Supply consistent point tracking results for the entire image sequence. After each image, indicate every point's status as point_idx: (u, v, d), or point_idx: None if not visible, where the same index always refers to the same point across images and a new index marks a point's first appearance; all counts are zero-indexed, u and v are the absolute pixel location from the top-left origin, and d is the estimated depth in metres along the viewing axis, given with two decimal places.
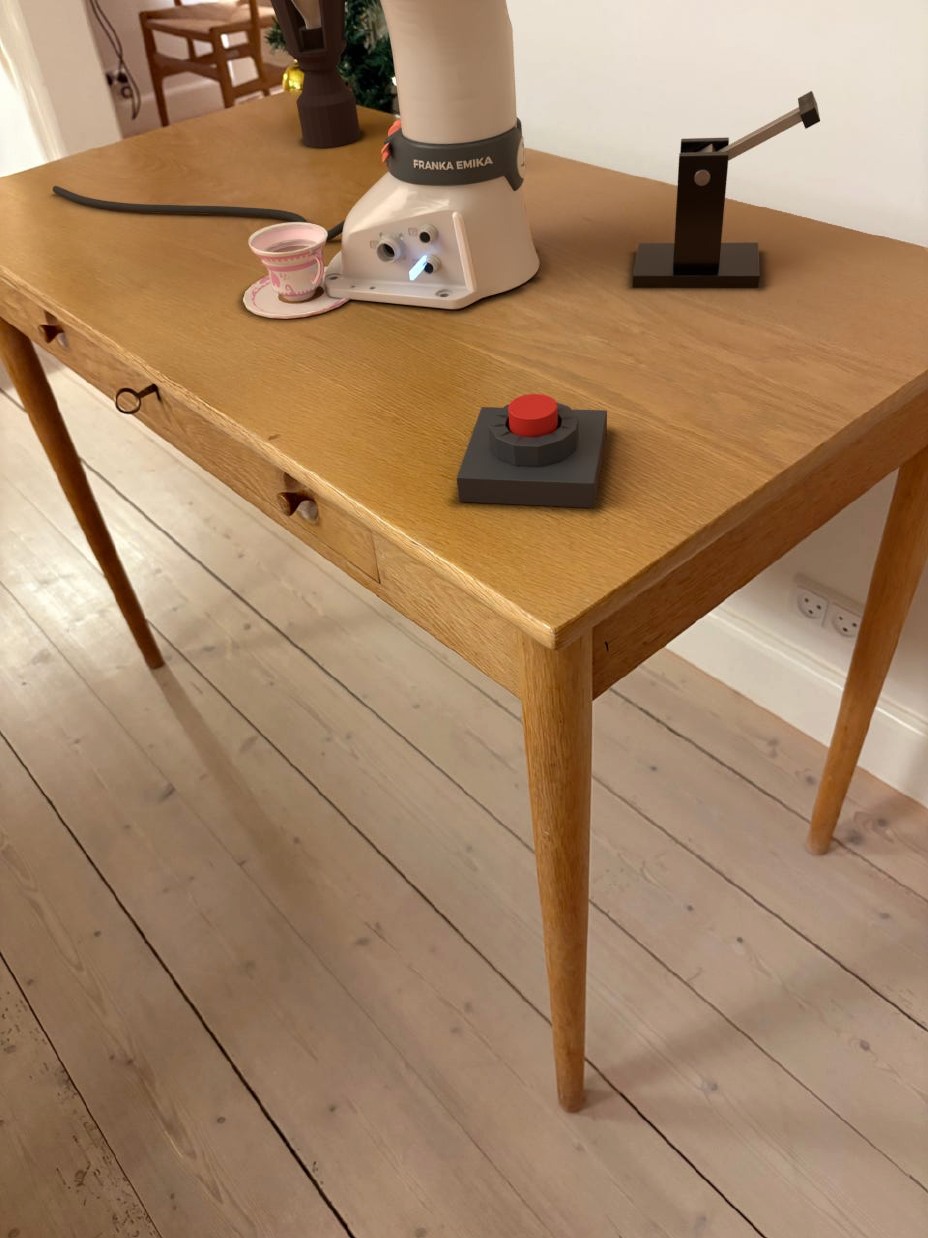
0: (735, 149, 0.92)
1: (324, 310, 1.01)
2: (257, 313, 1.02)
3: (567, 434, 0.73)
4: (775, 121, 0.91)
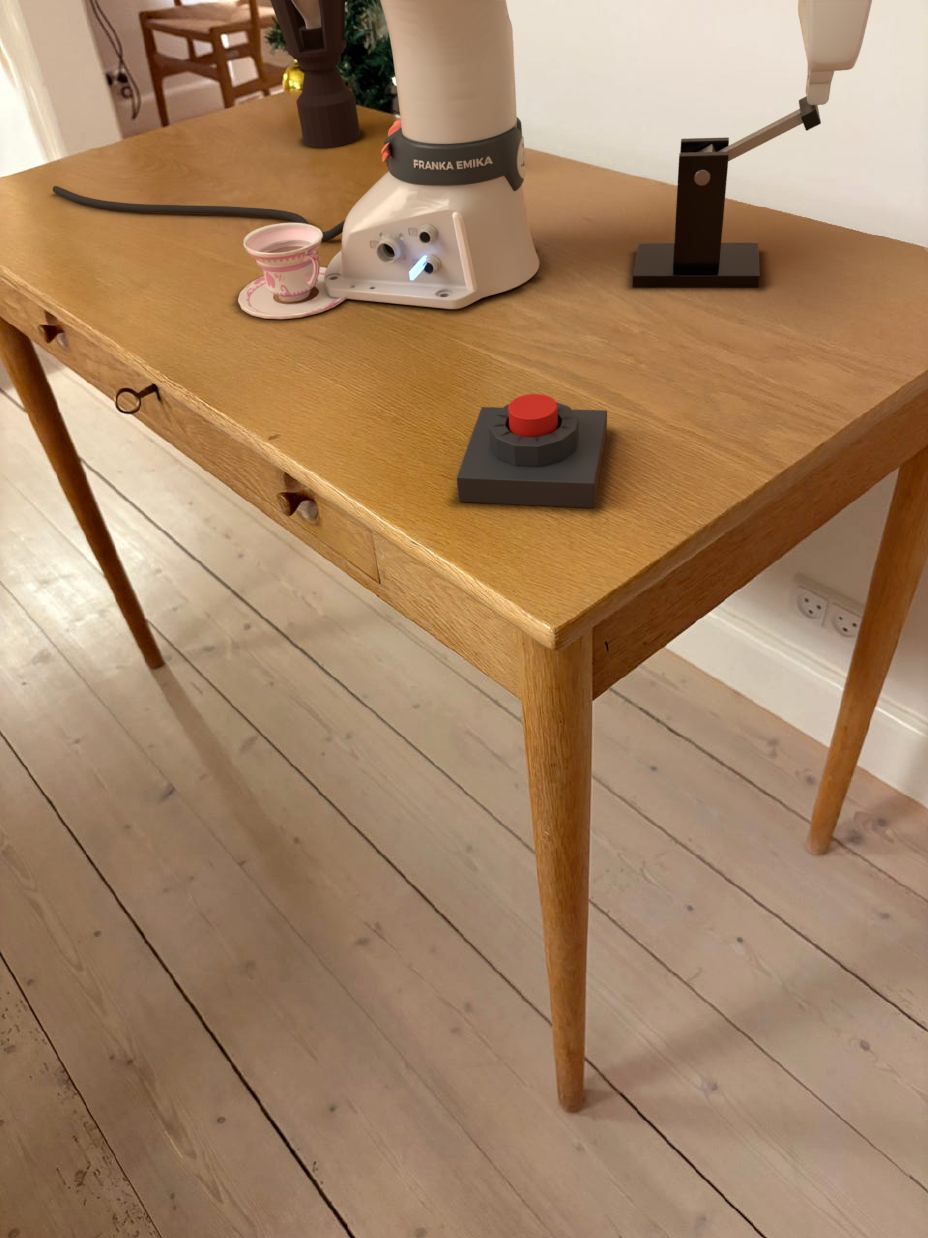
0: (735, 150, 0.92)
1: (320, 310, 1.01)
2: (252, 314, 1.02)
3: (567, 434, 0.73)
4: (776, 122, 0.91)
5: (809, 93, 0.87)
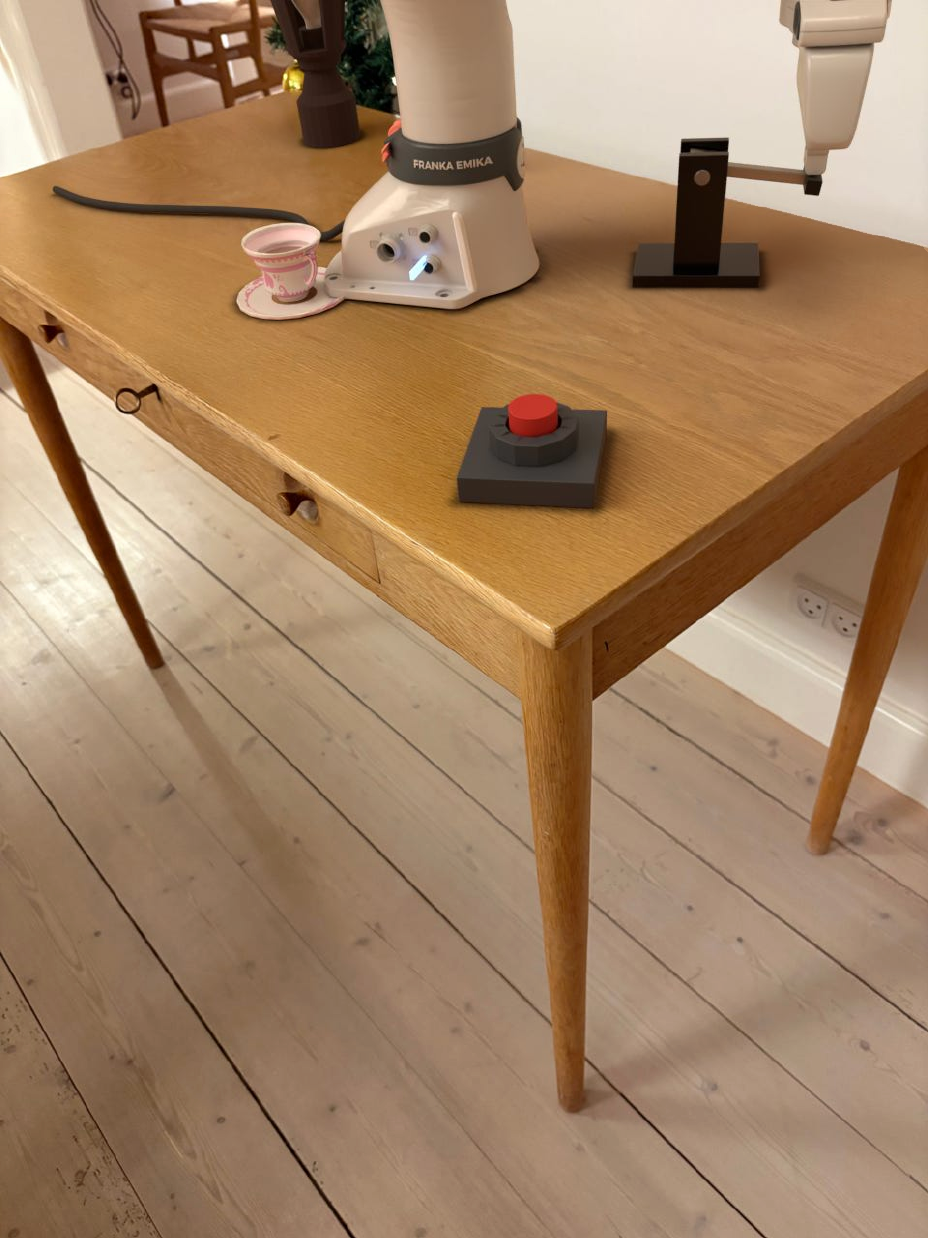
0: (738, 171, 0.94)
1: (318, 311, 1.01)
2: (251, 314, 1.02)
3: (567, 434, 0.73)
4: (781, 169, 0.93)
5: (807, 164, 0.91)
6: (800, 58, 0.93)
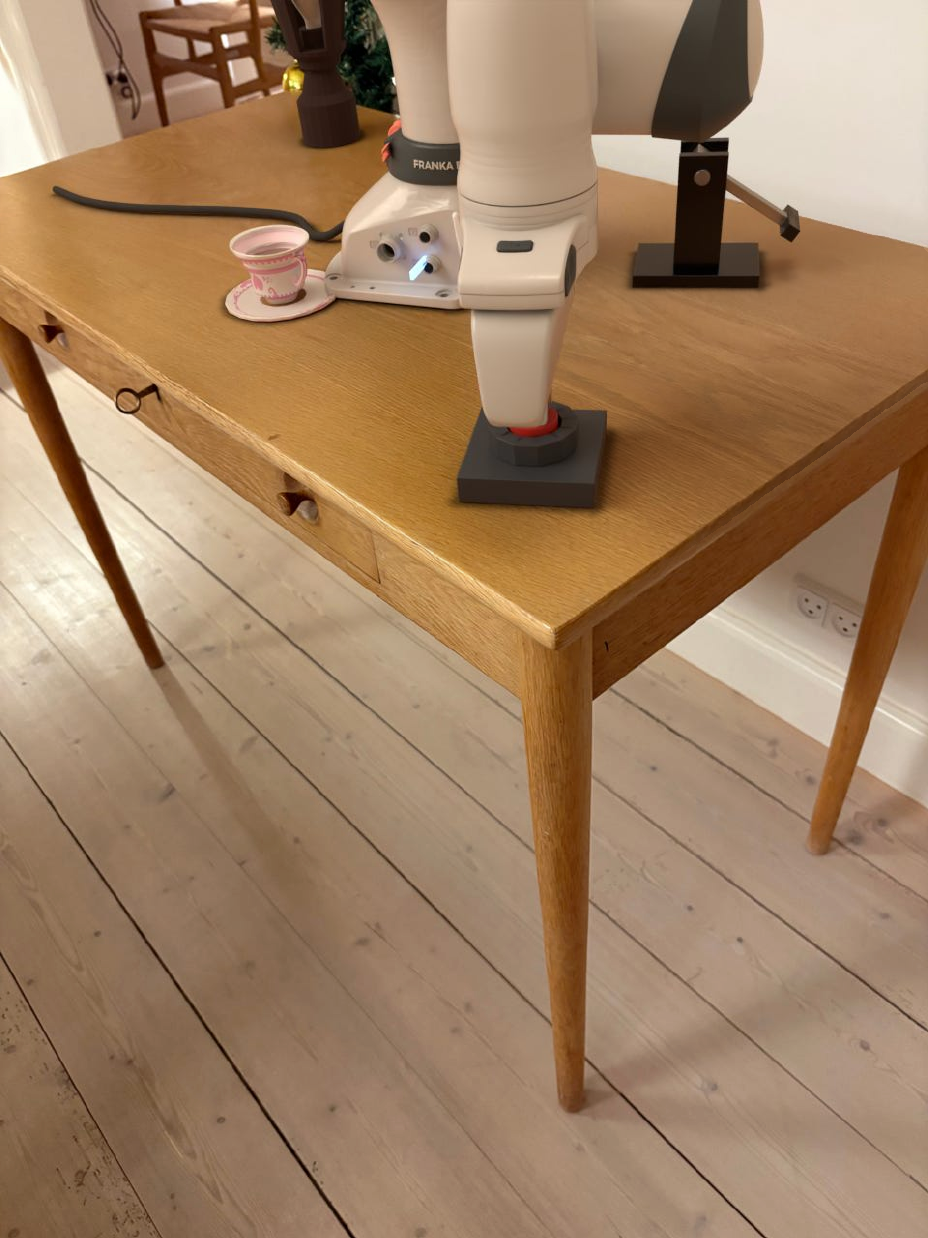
0: (732, 186, 0.95)
1: (309, 312, 1.01)
2: (241, 317, 1.01)
3: (567, 434, 0.73)
4: (768, 203, 0.95)
5: None
6: None
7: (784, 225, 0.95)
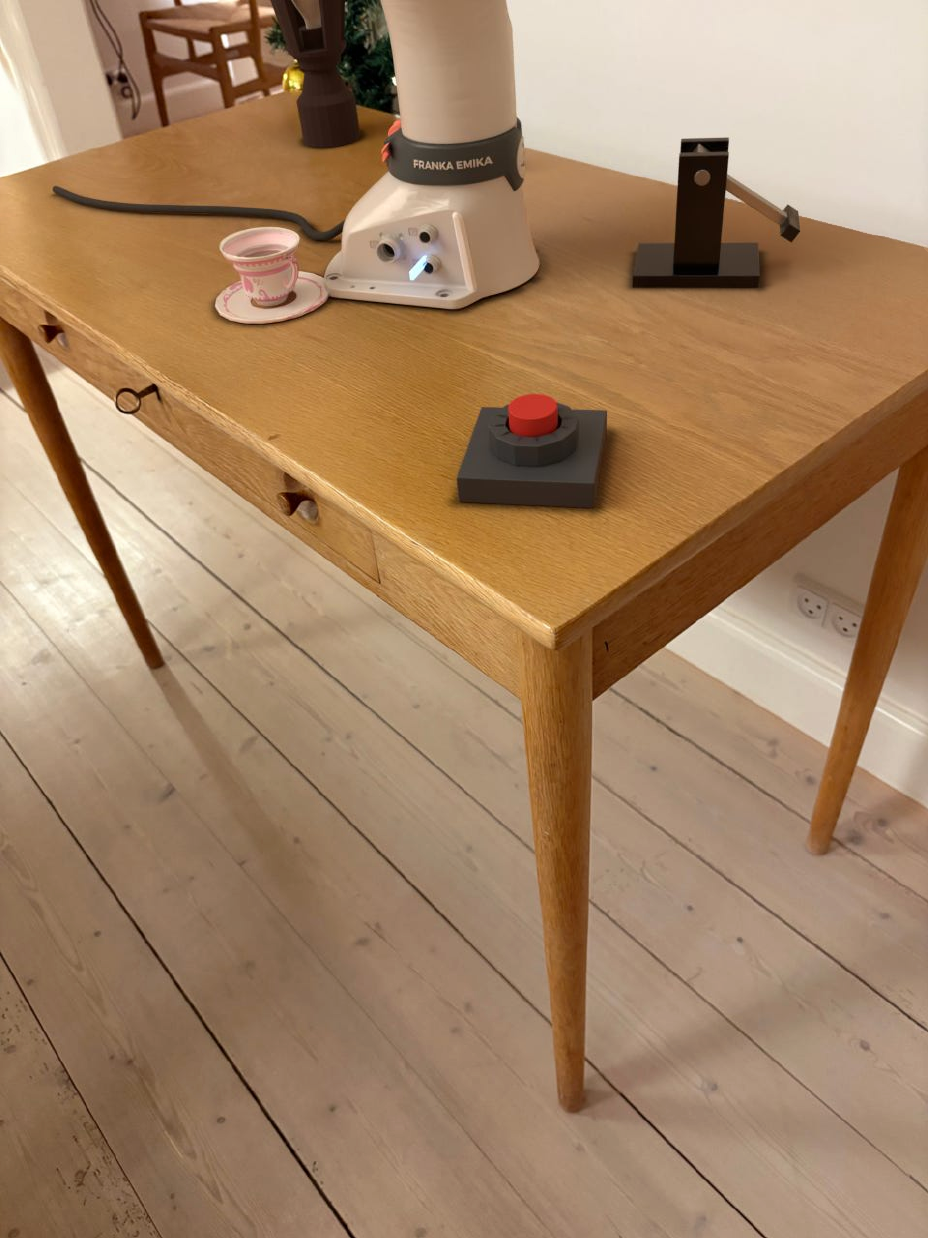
0: (732, 186, 0.95)
1: (300, 314, 1.01)
2: (232, 319, 1.01)
3: (567, 434, 0.73)
4: (768, 203, 0.95)
5: None
6: None
7: (784, 225, 0.95)
